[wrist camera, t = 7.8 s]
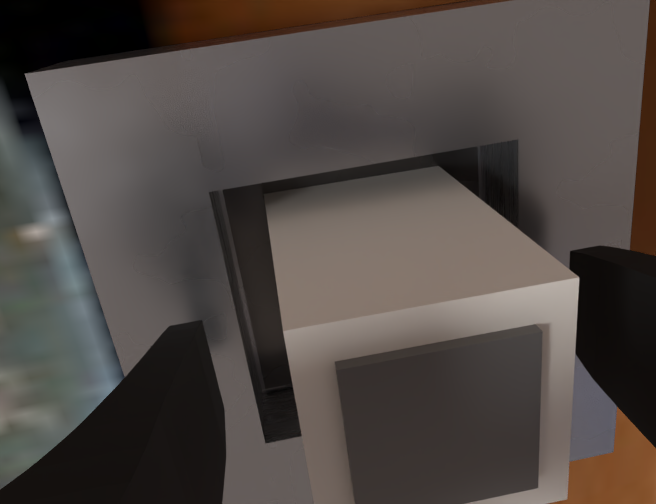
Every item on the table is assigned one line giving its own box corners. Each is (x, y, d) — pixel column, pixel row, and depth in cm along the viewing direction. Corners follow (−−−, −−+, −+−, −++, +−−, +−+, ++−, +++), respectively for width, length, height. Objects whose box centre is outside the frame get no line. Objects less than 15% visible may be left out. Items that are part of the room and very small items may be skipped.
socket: (577, -16, 13) (651, -21, 10) (563, 392, 17) (613, 452, 15) (65, 60, 12) (24, 74, 10) (188, 470, 16) (180, 545, 14)
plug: (438, 166, 13) (587, 284, 8) (445, 318, 15) (574, 509, 9) (263, 194, 13) (283, 339, 7) (290, 346, 15) (324, 562, 9)
